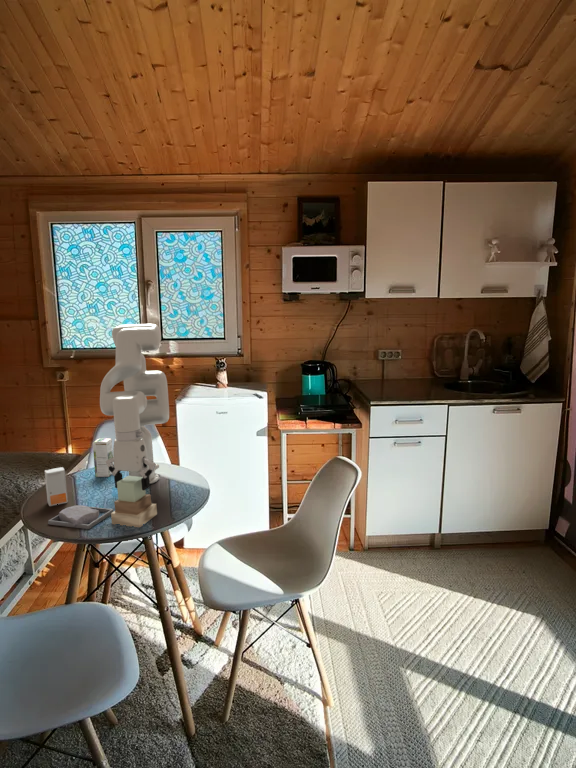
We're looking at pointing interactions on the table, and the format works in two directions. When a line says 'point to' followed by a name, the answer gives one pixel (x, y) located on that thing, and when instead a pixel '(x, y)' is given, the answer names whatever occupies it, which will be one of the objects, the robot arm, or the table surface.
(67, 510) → the stone block
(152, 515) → the beech block
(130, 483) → the green cube
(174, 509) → the table surface
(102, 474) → the syrup box
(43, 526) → the table surface
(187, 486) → the table surface
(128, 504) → the walnut block
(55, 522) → the tray rim
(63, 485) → the skincare box
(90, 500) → the table surface
